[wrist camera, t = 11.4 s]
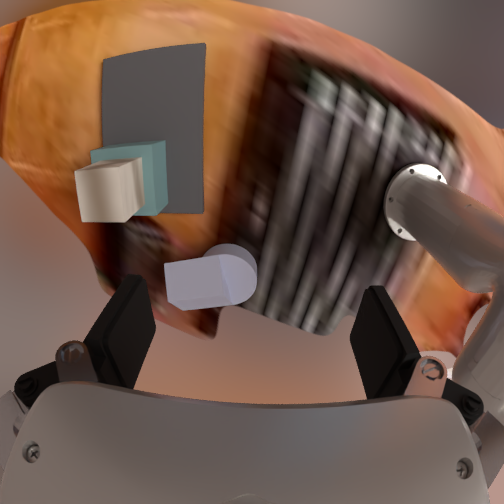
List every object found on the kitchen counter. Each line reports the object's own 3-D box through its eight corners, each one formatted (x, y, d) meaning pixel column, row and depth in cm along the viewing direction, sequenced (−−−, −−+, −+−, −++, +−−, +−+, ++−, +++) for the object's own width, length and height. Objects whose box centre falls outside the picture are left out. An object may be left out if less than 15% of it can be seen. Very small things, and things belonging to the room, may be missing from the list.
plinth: (165, 140, 33) (152, 144, 29) (168, 203, 37) (156, 215, 33) (108, 145, 33) (90, 150, 29) (114, 203, 38) (98, 215, 33)
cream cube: (141, 157, 30) (119, 167, 24) (145, 204, 32) (125, 222, 27) (100, 160, 30) (74, 171, 24) (105, 204, 32) (82, 221, 27)
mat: (206, 44, 28) (204, 42, 27) (204, 211, 39) (202, 213, 38) (106, 60, 28) (103, 59, 27) (113, 210, 39) (110, 213, 38)
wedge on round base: (187, 298, 47) (261, 288, 45) (178, 324, 41) (261, 315, 39) (170, 253, 42) (250, 239, 41) (156, 275, 37) (249, 261, 35)
